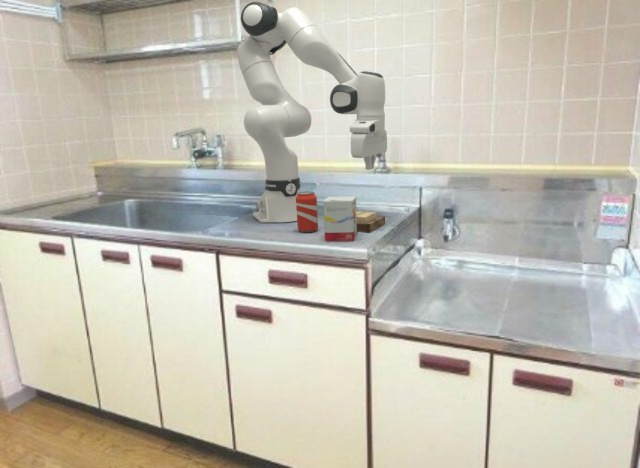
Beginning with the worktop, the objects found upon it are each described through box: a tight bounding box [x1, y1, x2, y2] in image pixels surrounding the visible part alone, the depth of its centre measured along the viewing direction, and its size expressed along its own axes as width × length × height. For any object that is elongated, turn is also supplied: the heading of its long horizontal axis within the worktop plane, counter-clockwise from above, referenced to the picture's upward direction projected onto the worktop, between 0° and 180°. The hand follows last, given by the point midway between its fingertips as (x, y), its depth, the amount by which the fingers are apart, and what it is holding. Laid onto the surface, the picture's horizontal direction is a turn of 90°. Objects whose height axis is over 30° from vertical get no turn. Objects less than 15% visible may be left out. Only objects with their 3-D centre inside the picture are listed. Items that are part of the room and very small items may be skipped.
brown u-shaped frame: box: [357, 215, 386, 234], centre depth 156 cm, size 12×12×2 cm
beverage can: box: [296, 190, 319, 233], centre depth 154 cm, size 6×6×12 cm
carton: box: [356, 210, 377, 223], centre depth 156 cm, size 8×8×4 cm
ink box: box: [322, 195, 358, 242], centre depth 143 cm, size 9×9×12 cm
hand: (369, 169), depth 161 cm, fingers closed
